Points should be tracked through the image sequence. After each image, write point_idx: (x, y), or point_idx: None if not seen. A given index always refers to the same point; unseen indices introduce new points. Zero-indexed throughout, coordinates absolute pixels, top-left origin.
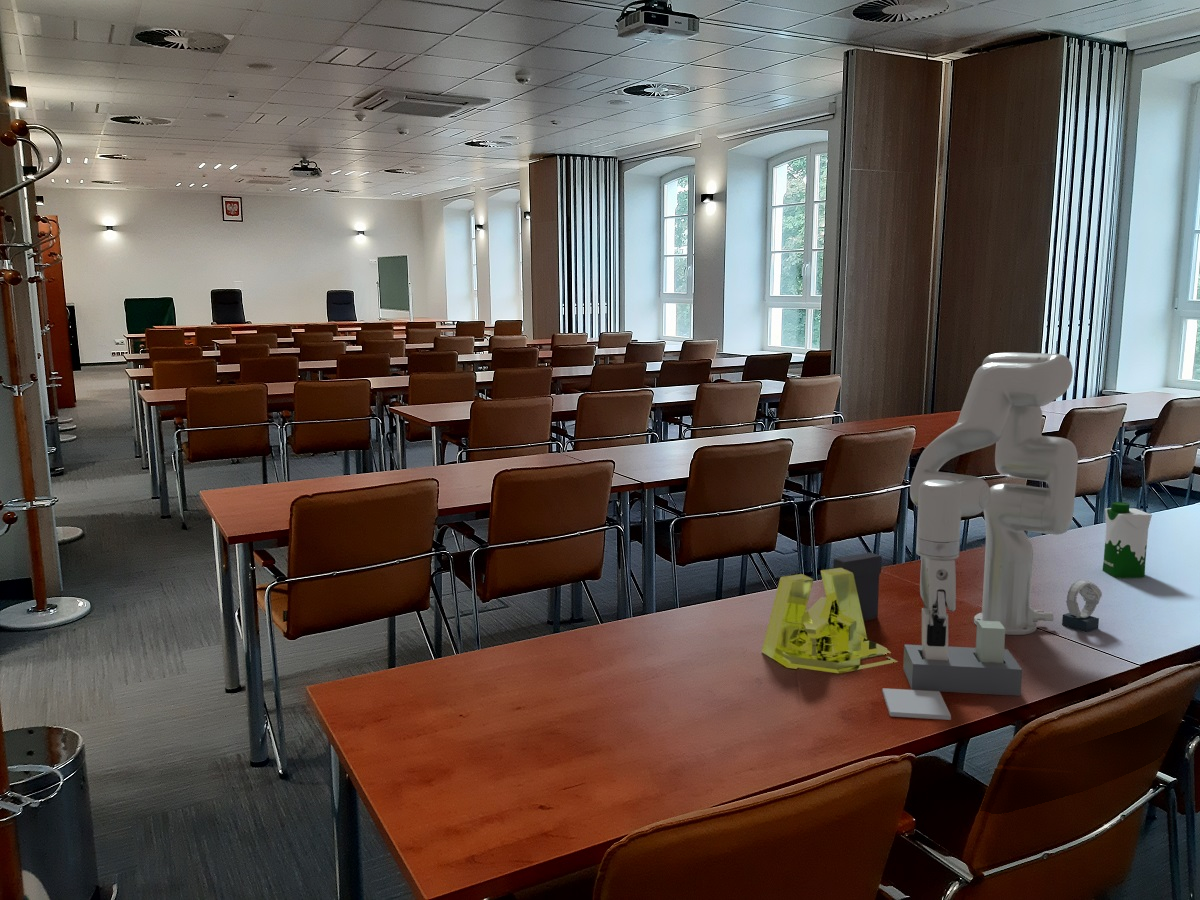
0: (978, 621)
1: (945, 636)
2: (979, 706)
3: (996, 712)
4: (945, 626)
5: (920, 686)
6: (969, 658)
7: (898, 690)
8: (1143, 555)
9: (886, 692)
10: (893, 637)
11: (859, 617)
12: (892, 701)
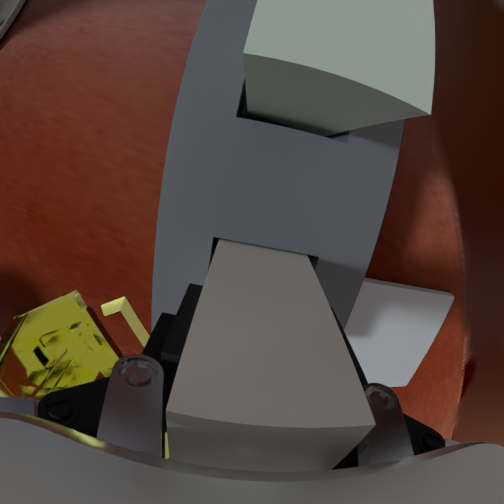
0: (274, 53)
1: (344, 333)
2: (421, 203)
3: (448, 181)
4: (389, 388)
5: None
6: (306, 162)
7: None
8: None
9: None
10: (5, 249)
11: (12, 360)
12: (374, 380)
